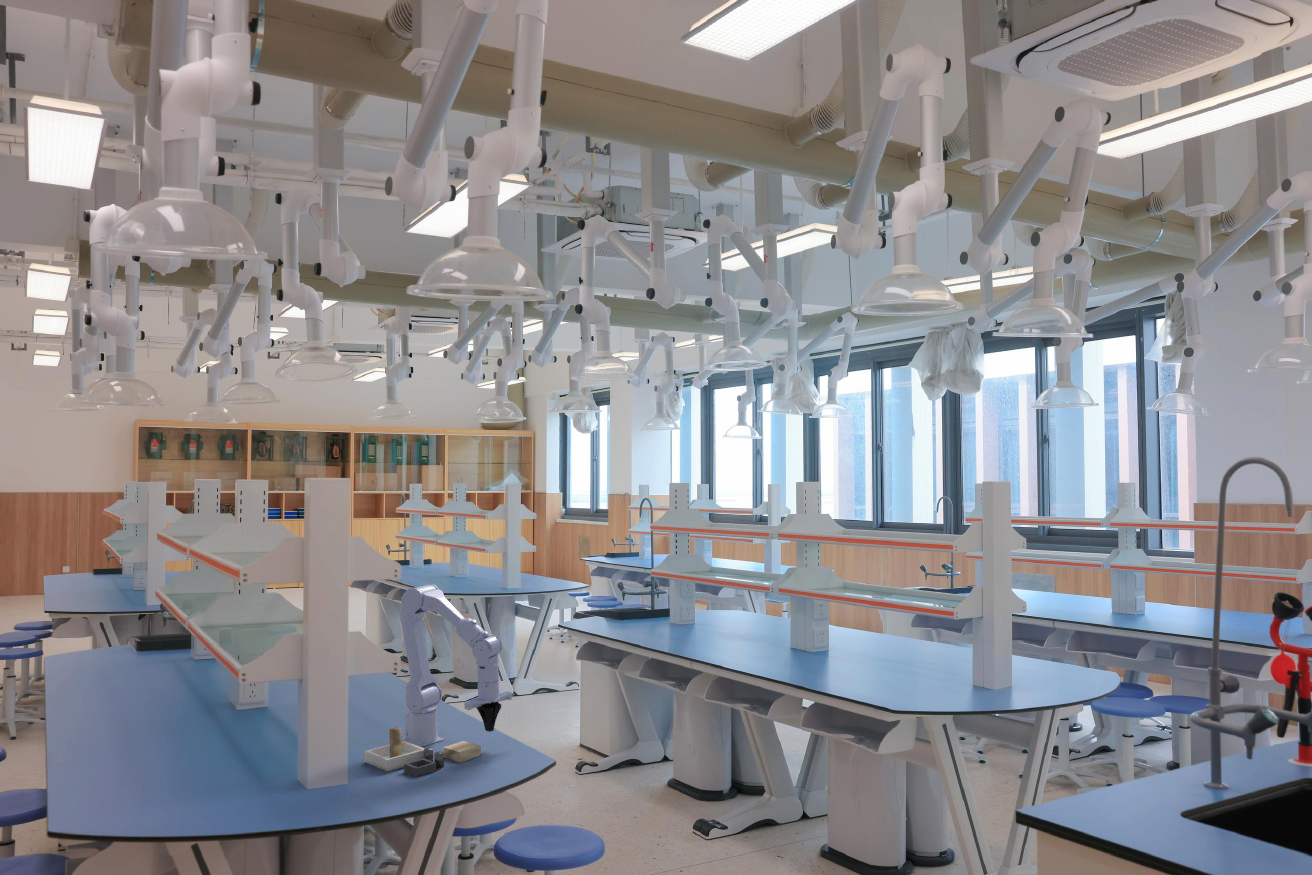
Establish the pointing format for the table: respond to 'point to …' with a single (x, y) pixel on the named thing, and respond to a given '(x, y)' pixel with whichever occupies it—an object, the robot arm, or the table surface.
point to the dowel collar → (420, 767)
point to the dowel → (395, 742)
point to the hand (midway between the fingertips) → (489, 730)
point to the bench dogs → (437, 757)
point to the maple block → (462, 751)
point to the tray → (383, 761)
